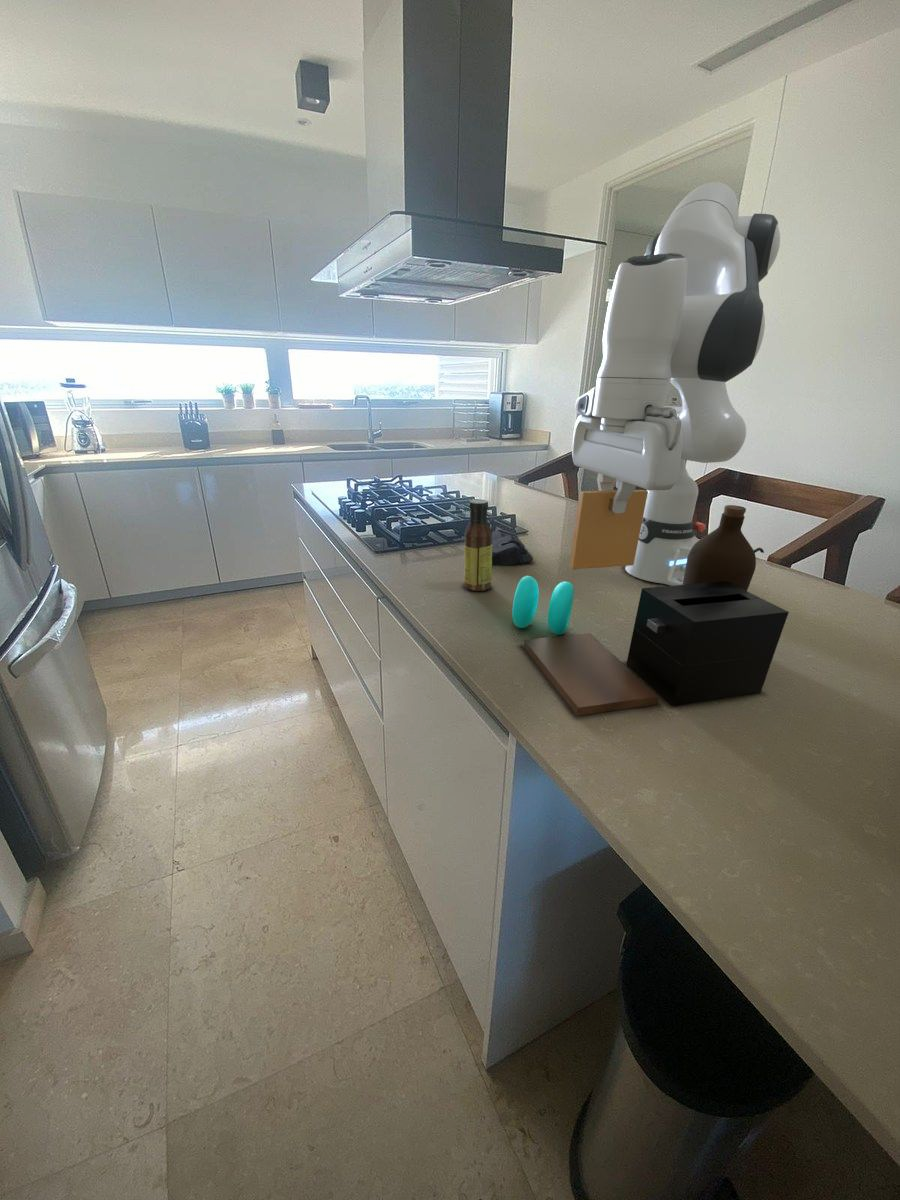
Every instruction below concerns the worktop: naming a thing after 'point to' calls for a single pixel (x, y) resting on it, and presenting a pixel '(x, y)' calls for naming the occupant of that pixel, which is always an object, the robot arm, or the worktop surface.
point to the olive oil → (722, 553)
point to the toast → (606, 530)
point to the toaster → (704, 641)
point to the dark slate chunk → (508, 549)
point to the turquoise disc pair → (528, 603)
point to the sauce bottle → (478, 548)
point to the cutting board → (588, 674)
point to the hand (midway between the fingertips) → (611, 509)
